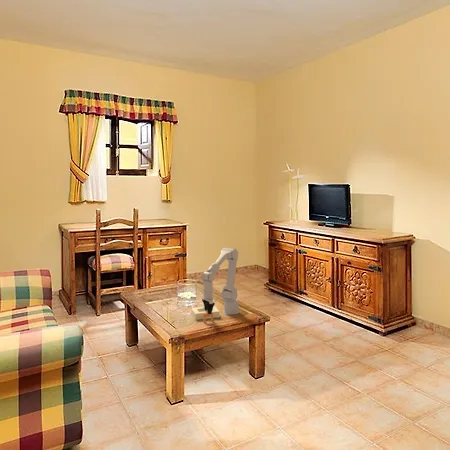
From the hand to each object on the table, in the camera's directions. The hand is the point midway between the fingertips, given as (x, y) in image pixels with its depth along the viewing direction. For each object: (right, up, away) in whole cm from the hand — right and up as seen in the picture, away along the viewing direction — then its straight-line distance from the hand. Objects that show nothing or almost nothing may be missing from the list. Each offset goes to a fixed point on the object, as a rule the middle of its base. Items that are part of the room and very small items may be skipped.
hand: (208, 311), depth 249 cm
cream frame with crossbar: (-2, -5, +12) cm, 14 cm away
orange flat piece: (0, -6, +1) cm, 6 cm away
